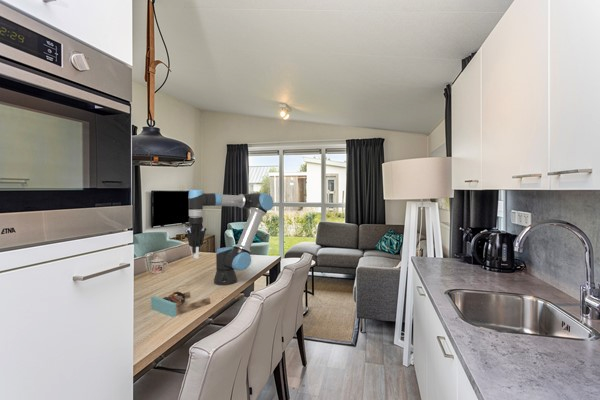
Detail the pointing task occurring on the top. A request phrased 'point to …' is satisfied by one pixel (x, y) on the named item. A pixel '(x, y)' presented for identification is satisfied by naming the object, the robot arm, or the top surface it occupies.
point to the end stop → (163, 306)
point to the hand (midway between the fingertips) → (196, 258)
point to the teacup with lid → (157, 265)
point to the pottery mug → (176, 298)
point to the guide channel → (190, 306)
